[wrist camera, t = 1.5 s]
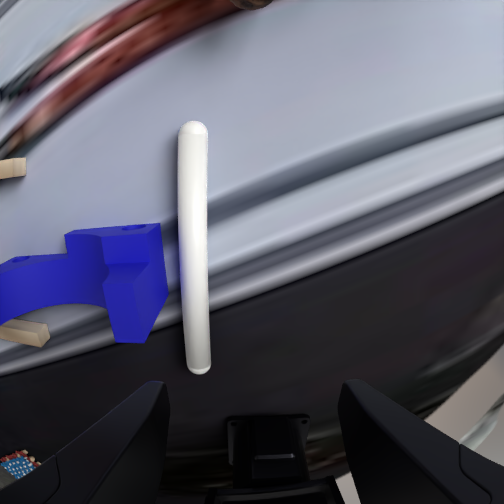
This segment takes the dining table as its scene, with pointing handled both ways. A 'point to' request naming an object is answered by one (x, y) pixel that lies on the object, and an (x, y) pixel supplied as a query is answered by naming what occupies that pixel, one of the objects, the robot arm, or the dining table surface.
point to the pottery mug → (251, 4)
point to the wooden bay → (17, 328)
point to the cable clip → (94, 278)
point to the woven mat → (19, 463)
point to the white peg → (194, 243)
